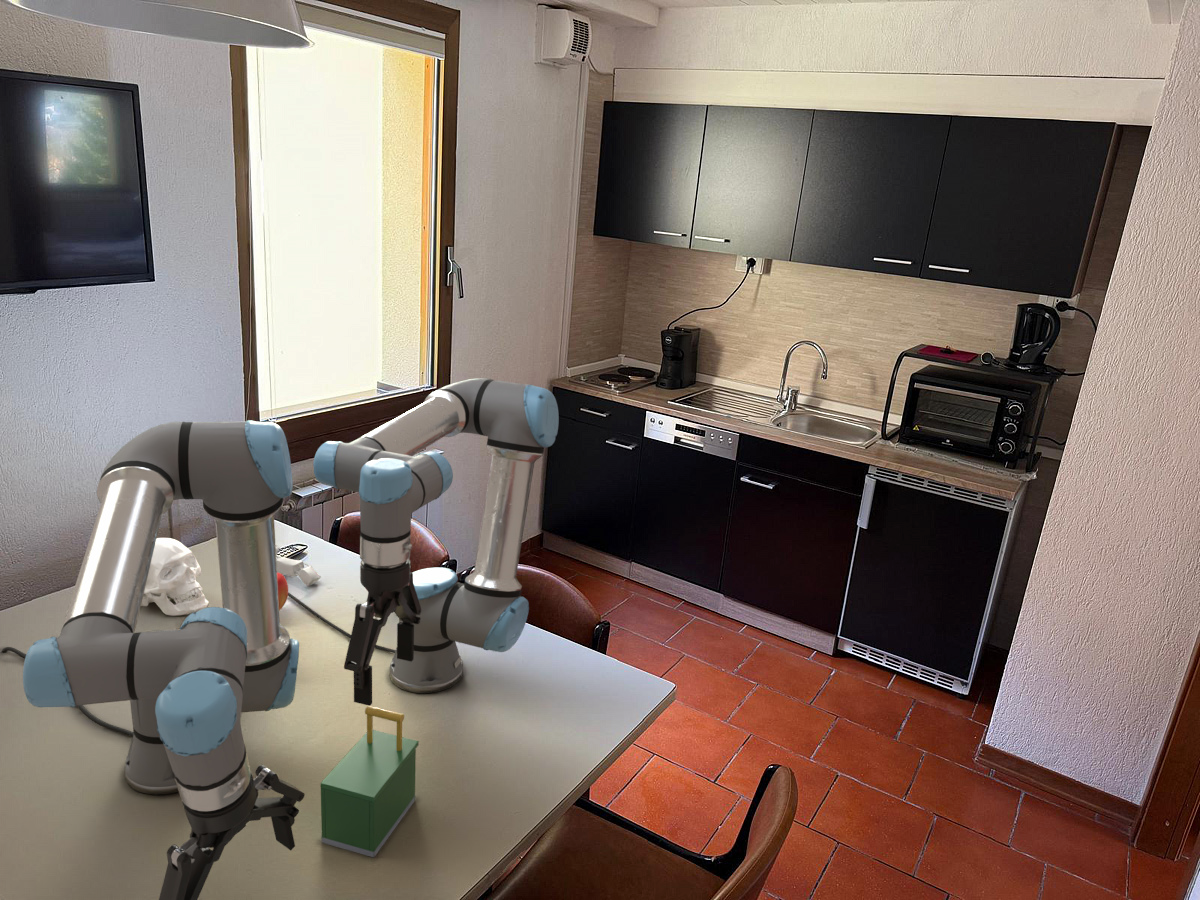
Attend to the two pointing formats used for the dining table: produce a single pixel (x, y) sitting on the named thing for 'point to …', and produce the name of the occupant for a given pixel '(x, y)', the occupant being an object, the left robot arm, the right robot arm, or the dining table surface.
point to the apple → (282, 590)
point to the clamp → (296, 569)
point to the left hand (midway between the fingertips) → (244, 885)
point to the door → (371, 759)
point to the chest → (367, 813)
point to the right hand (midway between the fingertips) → (385, 680)
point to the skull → (174, 579)
